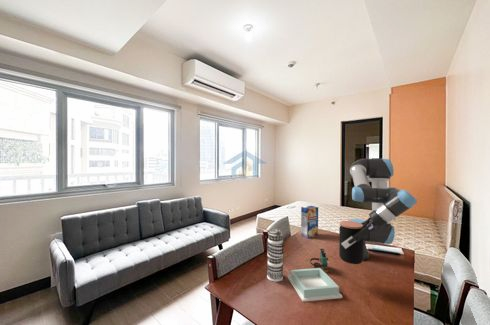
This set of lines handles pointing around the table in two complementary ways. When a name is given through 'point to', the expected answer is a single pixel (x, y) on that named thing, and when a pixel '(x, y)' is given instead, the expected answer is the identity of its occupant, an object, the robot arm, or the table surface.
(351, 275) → the table surface
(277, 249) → the decorative candle
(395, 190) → the robot arm
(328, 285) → the pocket tray
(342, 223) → the coffee jar
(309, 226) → the juice carton
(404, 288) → the table surface
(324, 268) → the binoculars
